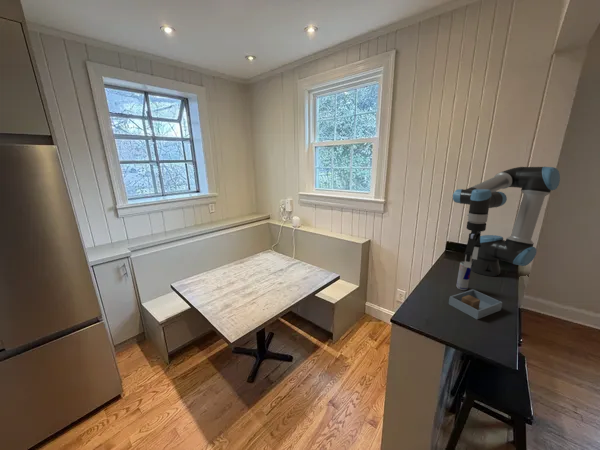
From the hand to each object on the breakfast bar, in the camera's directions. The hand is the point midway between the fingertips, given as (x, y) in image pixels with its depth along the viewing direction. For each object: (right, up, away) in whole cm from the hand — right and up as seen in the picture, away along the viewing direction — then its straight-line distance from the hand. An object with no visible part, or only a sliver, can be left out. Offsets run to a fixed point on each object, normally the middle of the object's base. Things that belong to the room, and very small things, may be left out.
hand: (470, 262), depth 122 cm
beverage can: (+2, -16, +10) cm, 19 cm away
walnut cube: (-7, -20, -9) cm, 23 cm away
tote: (-3, -20, -7) cm, 21 cm away
